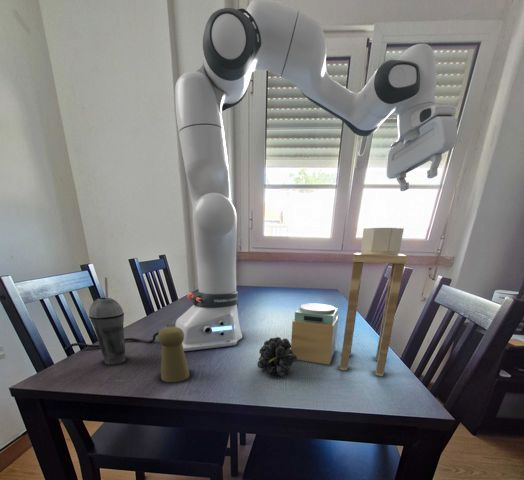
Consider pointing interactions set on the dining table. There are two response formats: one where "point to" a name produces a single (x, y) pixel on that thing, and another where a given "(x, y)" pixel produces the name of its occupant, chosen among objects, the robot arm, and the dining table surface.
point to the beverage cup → (109, 328)
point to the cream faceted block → (381, 241)
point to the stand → (389, 308)
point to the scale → (314, 333)
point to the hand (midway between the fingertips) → (417, 184)
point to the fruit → (276, 356)
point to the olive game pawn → (173, 355)
